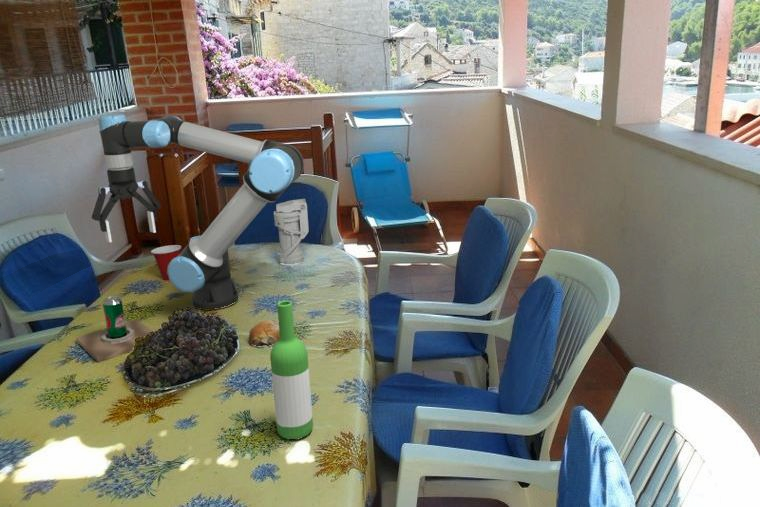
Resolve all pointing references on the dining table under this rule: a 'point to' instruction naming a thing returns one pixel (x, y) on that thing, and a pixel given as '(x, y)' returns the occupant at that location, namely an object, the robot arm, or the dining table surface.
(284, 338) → the wine bottle
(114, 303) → the soda can
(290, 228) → the grey tall angular piece
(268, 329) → the bread roll
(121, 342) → the collar board
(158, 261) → the plastic cup
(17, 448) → the dining table surface
